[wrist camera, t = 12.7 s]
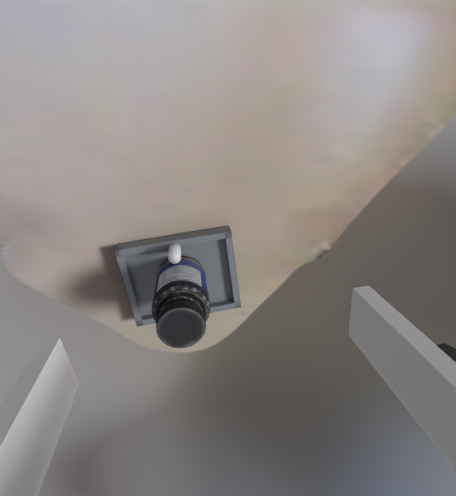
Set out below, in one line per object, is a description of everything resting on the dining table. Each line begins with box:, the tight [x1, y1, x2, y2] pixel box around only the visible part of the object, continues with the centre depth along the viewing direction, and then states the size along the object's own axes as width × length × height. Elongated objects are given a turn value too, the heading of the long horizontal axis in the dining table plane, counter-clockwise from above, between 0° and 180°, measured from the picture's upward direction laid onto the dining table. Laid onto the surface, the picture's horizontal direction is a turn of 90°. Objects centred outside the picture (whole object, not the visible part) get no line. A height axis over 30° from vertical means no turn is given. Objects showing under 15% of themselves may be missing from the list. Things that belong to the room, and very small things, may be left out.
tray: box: [114, 226, 241, 326], centre depth 37 cm, size 14×11×5 cm
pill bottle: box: [152, 256, 210, 348], centre depth 33 cm, size 6×6×11 cm
